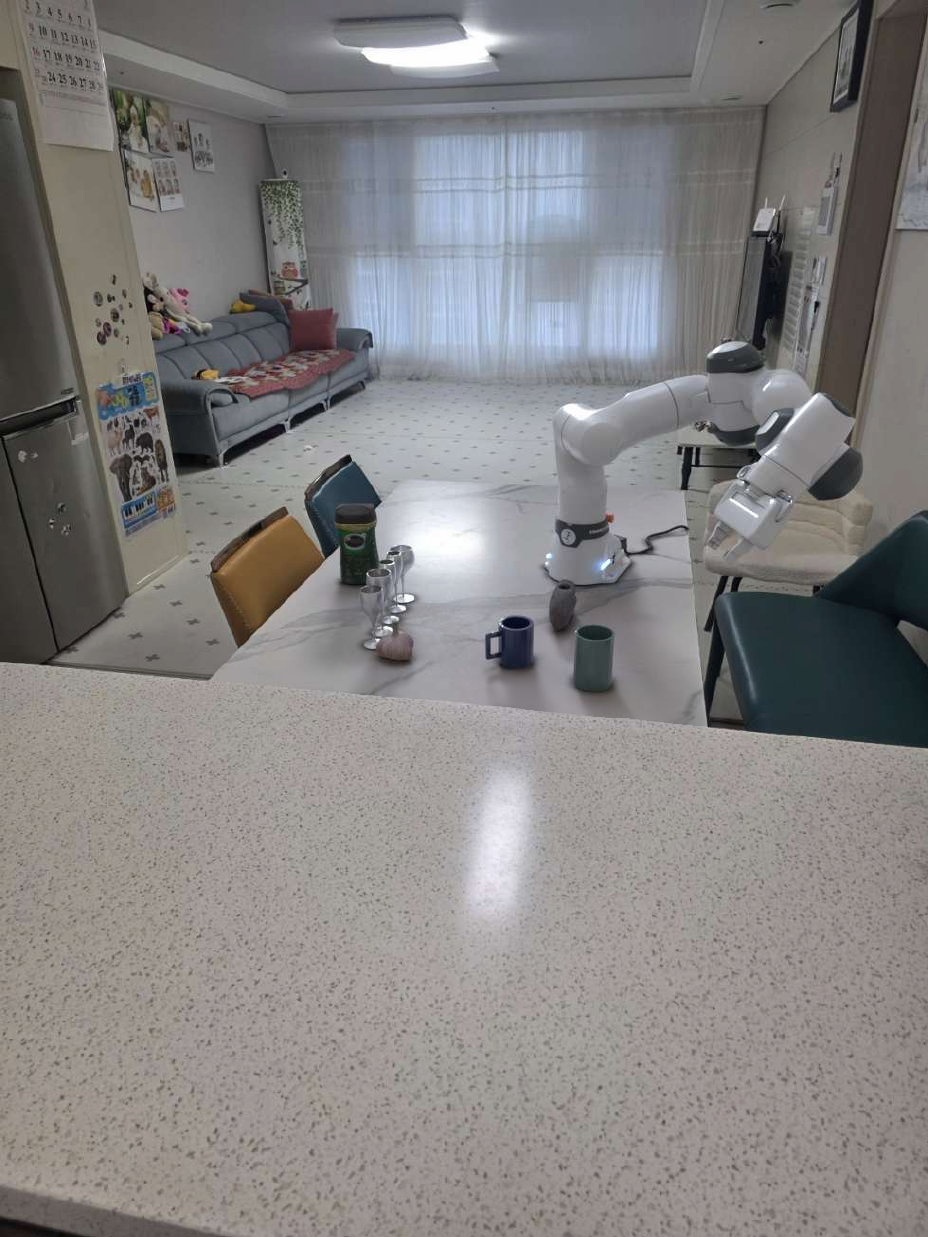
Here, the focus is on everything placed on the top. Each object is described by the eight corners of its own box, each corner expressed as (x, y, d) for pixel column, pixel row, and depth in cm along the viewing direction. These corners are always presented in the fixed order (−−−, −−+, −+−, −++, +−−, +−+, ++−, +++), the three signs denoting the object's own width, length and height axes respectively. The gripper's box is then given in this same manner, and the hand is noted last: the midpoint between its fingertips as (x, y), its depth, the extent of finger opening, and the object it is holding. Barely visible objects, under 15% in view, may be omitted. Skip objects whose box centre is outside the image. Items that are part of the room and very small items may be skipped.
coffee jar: (383, 573, 199) (378, 499, 191) (378, 585, 192) (373, 509, 184) (343, 573, 200) (337, 499, 192) (337, 585, 193) (330, 509, 185)
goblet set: (385, 650, 162) (381, 588, 156) (357, 648, 163) (352, 586, 157) (419, 594, 187) (416, 539, 181) (394, 593, 188) (391, 538, 182)
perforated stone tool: (567, 638, 166) (568, 606, 163) (541, 635, 167) (542, 603, 164) (579, 608, 179) (580, 578, 176) (555, 605, 180) (555, 576, 177)
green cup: (585, 669, 153) (587, 621, 149) (617, 680, 150) (621, 630, 145) (566, 684, 149) (568, 634, 144) (599, 695, 145) (602, 644, 141)
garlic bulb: (417, 663, 157) (415, 625, 154) (379, 667, 156) (376, 629, 152) (411, 645, 164) (409, 609, 160) (374, 649, 162) (371, 613, 159)
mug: (523, 650, 161) (523, 612, 158) (539, 664, 156) (540, 626, 152) (478, 659, 158) (478, 622, 154) (493, 674, 152) (492, 636, 149)
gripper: (813, 509, 125) (753, 582, 129) (766, 486, 144) (715, 549, 148) (781, 486, 124) (722, 560, 128) (738, 465, 143) (688, 530, 147)
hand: (718, 554), depth 138 cm, fingers open, 8 cm apart
